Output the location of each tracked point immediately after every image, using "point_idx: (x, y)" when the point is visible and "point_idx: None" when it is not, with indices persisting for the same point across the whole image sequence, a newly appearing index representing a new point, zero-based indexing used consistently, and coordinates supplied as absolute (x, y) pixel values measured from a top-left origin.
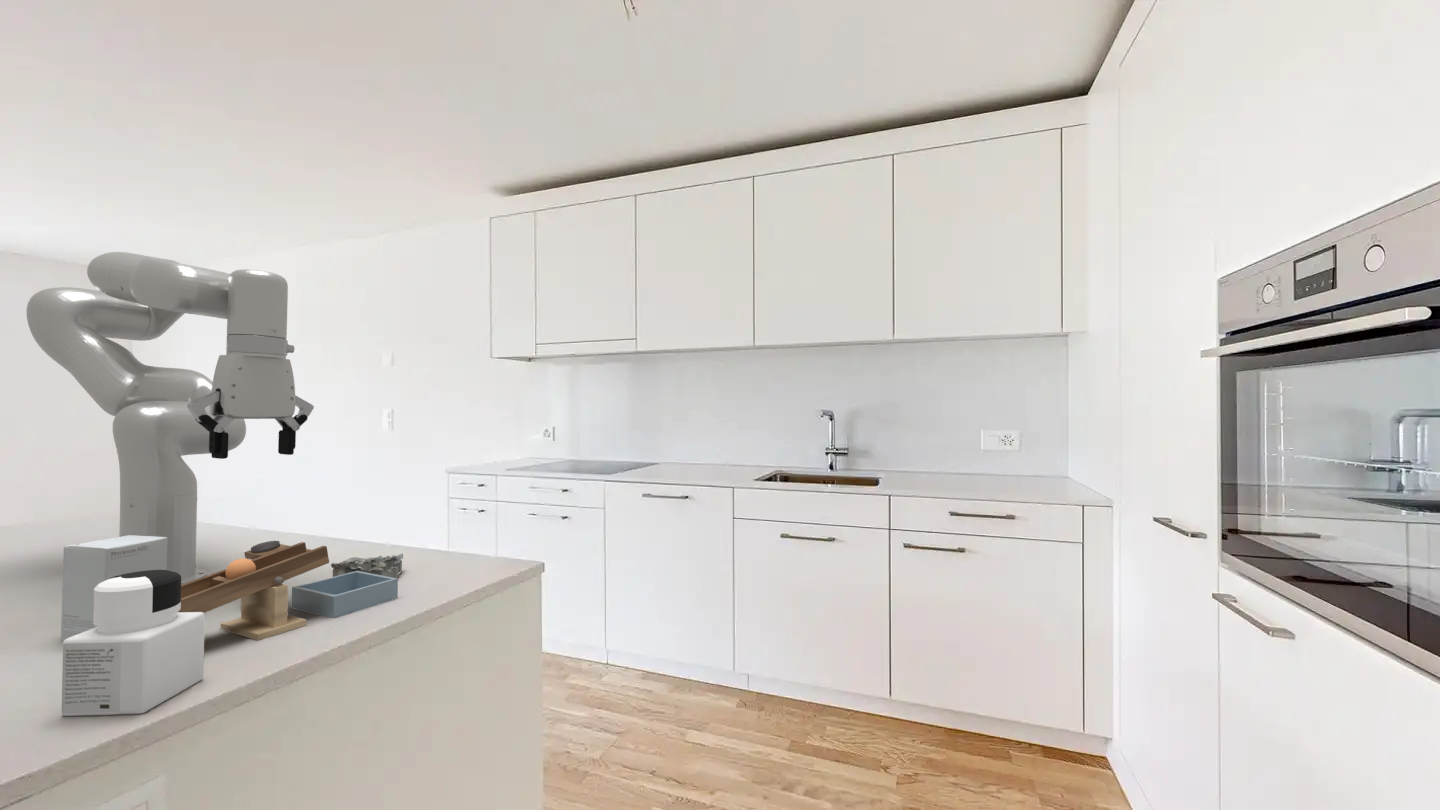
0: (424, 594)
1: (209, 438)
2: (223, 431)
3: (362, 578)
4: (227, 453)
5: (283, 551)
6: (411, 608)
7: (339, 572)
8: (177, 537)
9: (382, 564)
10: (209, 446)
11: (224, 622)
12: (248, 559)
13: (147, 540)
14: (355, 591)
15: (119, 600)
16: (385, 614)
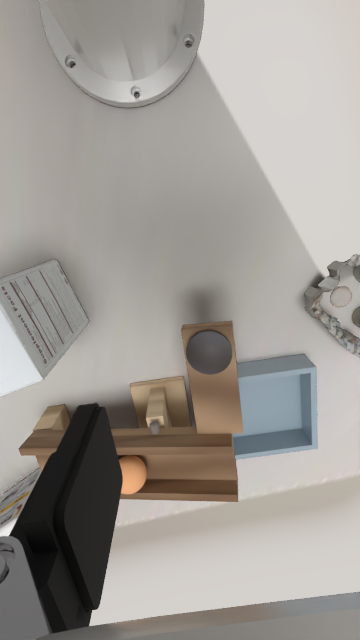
0: (332, 442)
1: (21, 514)
2: (70, 613)
3: (307, 383)
4: (118, 494)
5: (196, 453)
6: (288, 474)
7: (314, 314)
8: (127, 24)
9: None
10: (44, 472)
11: (133, 388)
12: (135, 488)
13: (11, 387)
14: (254, 455)
15: None
16: (261, 470)
